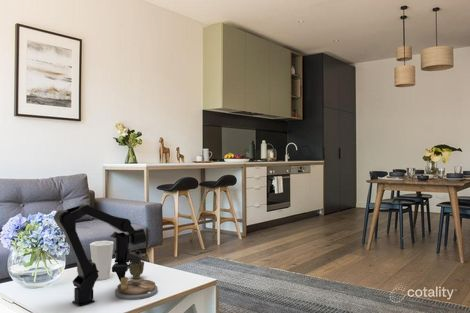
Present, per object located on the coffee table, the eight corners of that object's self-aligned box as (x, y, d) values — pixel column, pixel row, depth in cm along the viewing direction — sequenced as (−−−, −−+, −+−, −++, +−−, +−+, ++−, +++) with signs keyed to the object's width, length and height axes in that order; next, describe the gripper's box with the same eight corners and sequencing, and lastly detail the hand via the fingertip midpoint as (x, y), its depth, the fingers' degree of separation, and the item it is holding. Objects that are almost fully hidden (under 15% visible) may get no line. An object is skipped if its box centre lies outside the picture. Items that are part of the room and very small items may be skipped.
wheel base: (132, 303, 163) (132, 298, 163) (106, 293, 174) (106, 289, 174) (166, 291, 177) (166, 287, 177) (140, 283, 188) (140, 279, 188)
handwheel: (139, 280, 187) (139, 267, 187) (162, 287, 177) (162, 273, 177) (109, 289, 175) (109, 275, 175) (132, 297, 165) (132, 282, 165)
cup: (108, 281, 192) (108, 245, 192) (87, 281, 192) (87, 245, 192) (115, 274, 203) (115, 240, 203) (95, 274, 203) (95, 240, 203)
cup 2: (140, 281, 192) (140, 264, 192) (125, 280, 194) (125, 263, 194) (146, 276, 200) (146, 260, 200) (132, 275, 201) (132, 259, 201)
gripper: (139, 251, 167) (139, 288, 167) (142, 242, 186) (142, 276, 186) (111, 252, 166) (111, 290, 165) (117, 242, 184) (117, 277, 184)
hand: (122, 282), depth 175 cm, fingers closed
